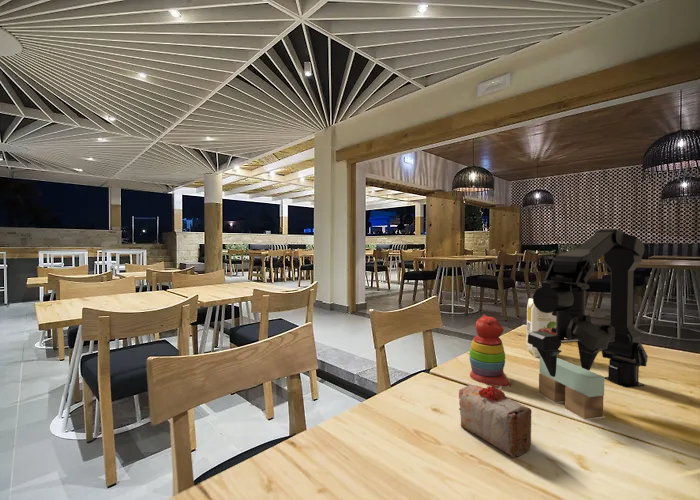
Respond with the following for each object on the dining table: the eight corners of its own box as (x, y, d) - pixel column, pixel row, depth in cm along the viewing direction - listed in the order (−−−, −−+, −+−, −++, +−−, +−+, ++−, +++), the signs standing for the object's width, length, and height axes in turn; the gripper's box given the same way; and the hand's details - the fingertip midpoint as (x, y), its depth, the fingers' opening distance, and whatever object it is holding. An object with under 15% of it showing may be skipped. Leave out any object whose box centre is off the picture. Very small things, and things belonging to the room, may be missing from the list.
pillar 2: (582, 405, 80) (583, 384, 80) (603, 416, 75) (603, 394, 75) (564, 408, 79) (565, 386, 79) (584, 419, 74) (584, 396, 74)
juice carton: (524, 350, 122) (525, 297, 122) (550, 351, 121) (551, 298, 121) (532, 357, 115) (533, 301, 114) (560, 359, 114) (561, 301, 113)
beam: (539, 372, 87) (539, 357, 87) (552, 371, 88) (553, 355, 88) (588, 397, 74) (589, 378, 73) (604, 395, 74) (604, 377, 74)
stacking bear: (512, 389, 90) (513, 321, 90) (472, 385, 92) (472, 319, 92) (502, 373, 101) (503, 313, 100) (466, 371, 103) (467, 311, 103)
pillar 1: (555, 391, 88) (555, 371, 88) (572, 400, 83) (572, 379, 83) (538, 393, 87) (539, 373, 87) (554, 402, 82) (554, 381, 82)
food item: (452, 425, 72) (452, 379, 72) (478, 416, 76) (479, 372, 76) (510, 462, 60) (511, 406, 60) (537, 448, 64) (538, 396, 64)
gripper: (565, 317, 71) (564, 393, 71) (637, 314, 75) (636, 385, 75) (526, 307, 81) (525, 372, 82) (591, 304, 85) (590, 366, 86)
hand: (569, 374), depth 81 cm, fingers open, 9 cm apart
